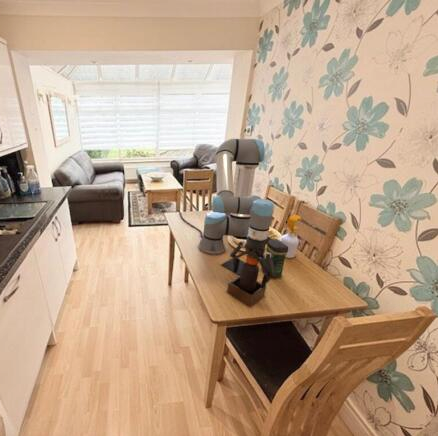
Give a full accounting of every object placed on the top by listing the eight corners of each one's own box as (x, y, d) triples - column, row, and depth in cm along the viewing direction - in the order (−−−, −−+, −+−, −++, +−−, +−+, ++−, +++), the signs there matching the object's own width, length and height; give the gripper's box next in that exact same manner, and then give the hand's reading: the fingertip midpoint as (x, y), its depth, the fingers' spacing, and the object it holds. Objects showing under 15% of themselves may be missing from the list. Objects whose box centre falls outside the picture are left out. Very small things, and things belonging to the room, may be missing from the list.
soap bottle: (298, 256, 139) (309, 217, 129) (287, 259, 136) (297, 220, 126) (285, 248, 146) (294, 212, 136) (274, 251, 143) (283, 214, 133)
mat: (221, 265, 131) (221, 264, 131) (234, 258, 137) (234, 257, 137) (240, 276, 122) (240, 275, 122) (253, 267, 129) (253, 266, 128)
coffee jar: (284, 278, 120) (292, 246, 113) (269, 279, 120) (277, 247, 112) (272, 266, 129) (279, 236, 122) (258, 268, 128) (265, 237, 121)
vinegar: (254, 292, 111) (262, 255, 103) (252, 301, 106) (260, 263, 98) (239, 287, 114) (246, 251, 106) (236, 295, 109) (243, 258, 101)
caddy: (227, 292, 111) (228, 282, 109) (241, 282, 117) (243, 273, 115) (249, 307, 103) (251, 297, 100) (264, 295, 109) (266, 286, 107)
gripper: (225, 228, 105) (220, 268, 113) (283, 252, 87) (271, 298, 95) (236, 224, 109) (229, 263, 117) (293, 246, 91) (280, 290, 99)
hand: (248, 279), depth 106 cm, fingers open, 13 cm apart
